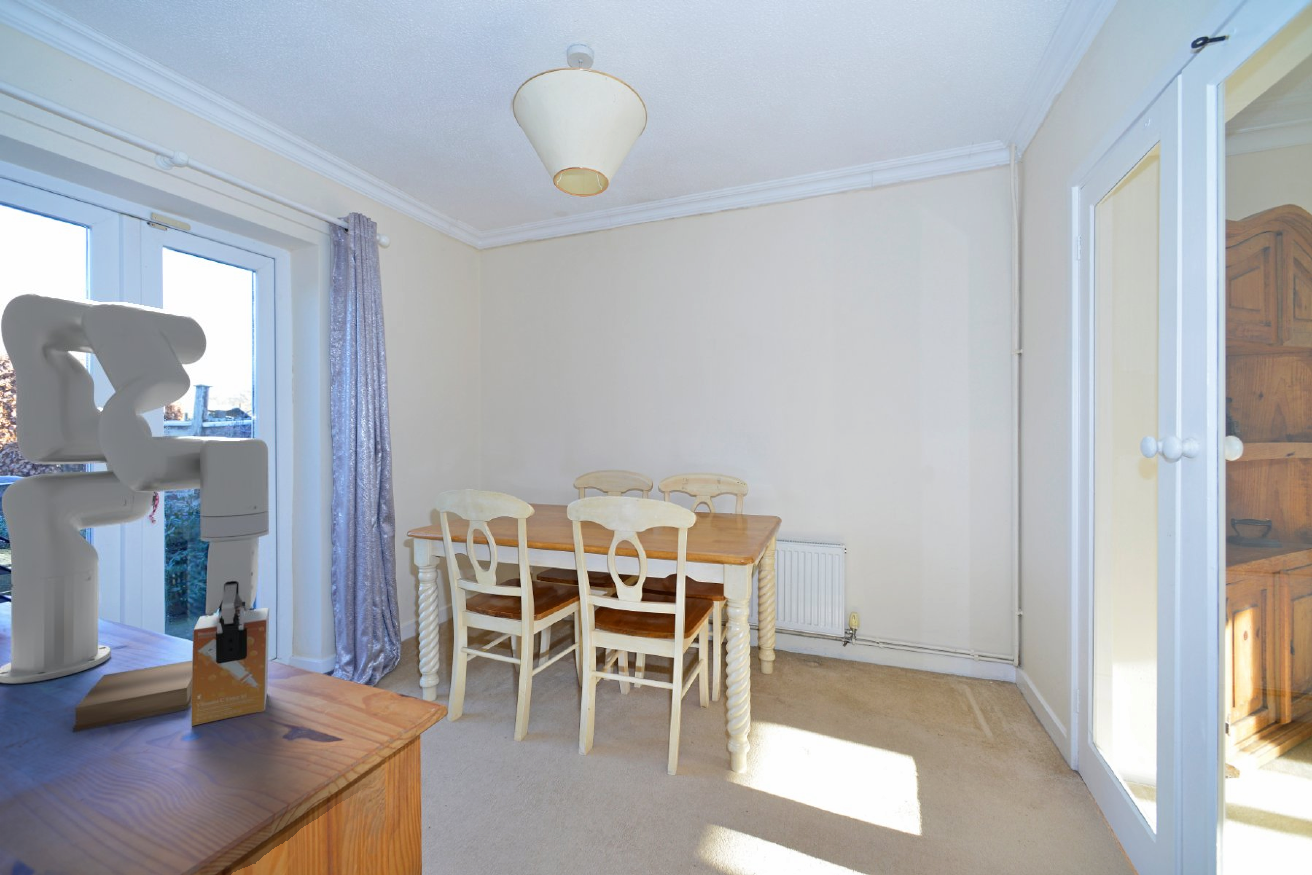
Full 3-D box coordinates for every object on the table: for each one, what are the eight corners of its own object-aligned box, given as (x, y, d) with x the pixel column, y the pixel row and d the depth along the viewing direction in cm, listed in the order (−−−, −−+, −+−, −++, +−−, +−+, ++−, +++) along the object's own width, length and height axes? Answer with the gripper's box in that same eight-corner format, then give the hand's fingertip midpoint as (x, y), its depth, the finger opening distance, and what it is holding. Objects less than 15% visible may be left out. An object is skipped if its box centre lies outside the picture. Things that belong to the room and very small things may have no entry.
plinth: (102, 694, 79) (102, 674, 79) (202, 677, 85) (202, 658, 85) (72, 732, 69) (72, 708, 69) (188, 709, 76) (188, 687, 76)
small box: (190, 727, 71) (191, 629, 71) (198, 706, 76) (198, 615, 76) (266, 711, 75) (267, 618, 75) (268, 692, 81) (269, 605, 81)
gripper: (211, 520, 81) (212, 634, 81) (188, 538, 66) (189, 678, 66) (272, 516, 85) (273, 625, 85) (263, 532, 70) (264, 664, 70)
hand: (236, 648), depth 75 cm, fingers open, 9 cm apart
